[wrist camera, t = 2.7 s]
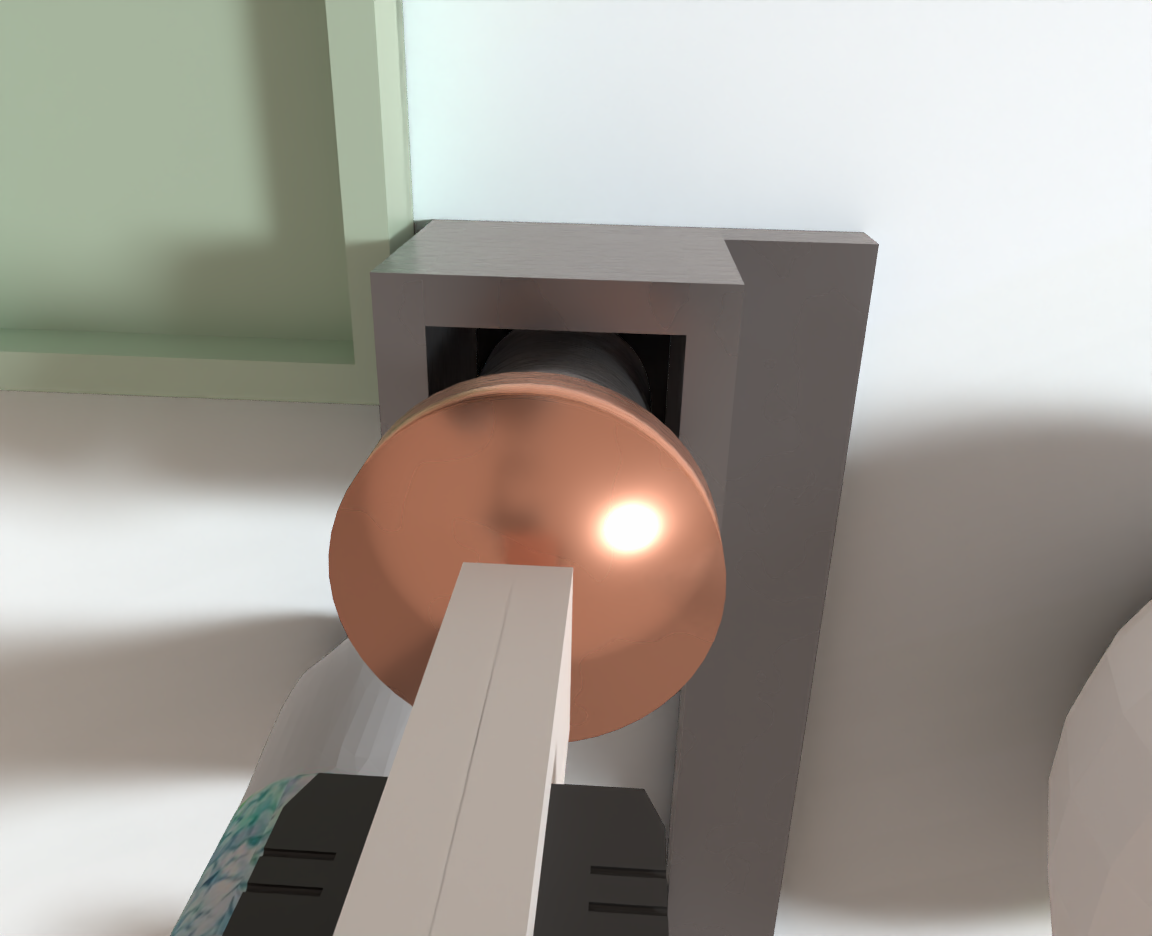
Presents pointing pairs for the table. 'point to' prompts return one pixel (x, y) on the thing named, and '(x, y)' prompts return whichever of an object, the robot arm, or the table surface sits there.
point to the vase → (1105, 796)
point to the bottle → (300, 771)
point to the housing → (722, 452)
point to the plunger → (539, 522)
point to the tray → (199, 195)
